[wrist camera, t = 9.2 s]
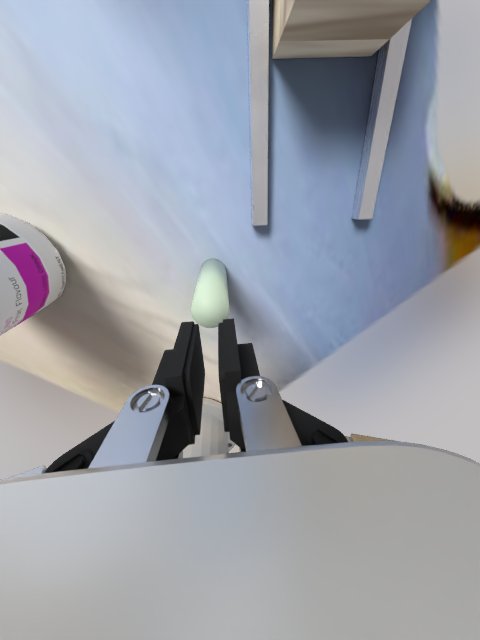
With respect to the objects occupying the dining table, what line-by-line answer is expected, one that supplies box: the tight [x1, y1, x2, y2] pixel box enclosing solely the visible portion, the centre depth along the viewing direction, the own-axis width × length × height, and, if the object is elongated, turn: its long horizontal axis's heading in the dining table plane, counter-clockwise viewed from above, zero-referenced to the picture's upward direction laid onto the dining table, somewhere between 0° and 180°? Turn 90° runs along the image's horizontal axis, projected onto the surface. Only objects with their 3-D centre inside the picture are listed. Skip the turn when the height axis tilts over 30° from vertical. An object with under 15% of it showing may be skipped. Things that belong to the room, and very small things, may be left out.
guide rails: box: [247, 0, 412, 226], centre depth 16 cm, size 18×10×1 cm, turn 3°
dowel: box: [191, 259, 230, 328], centre depth 19 cm, size 2×2×9 cm
